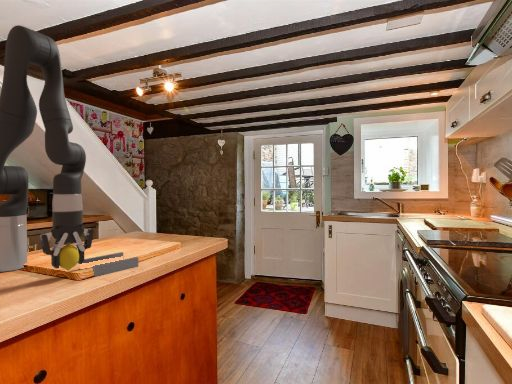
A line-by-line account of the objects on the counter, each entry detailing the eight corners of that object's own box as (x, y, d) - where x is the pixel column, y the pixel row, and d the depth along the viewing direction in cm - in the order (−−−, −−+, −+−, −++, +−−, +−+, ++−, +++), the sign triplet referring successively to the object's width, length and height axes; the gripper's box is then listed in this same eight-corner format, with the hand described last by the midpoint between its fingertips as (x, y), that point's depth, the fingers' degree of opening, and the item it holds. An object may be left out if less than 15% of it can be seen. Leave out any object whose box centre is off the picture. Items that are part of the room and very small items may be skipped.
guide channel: (79, 269, 94) (79, 260, 94) (121, 260, 105) (121, 252, 105) (94, 276, 87) (94, 266, 87) (138, 266, 98) (138, 257, 98)
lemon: (68, 267, 90) (68, 241, 90) (83, 268, 89) (83, 242, 89) (52, 272, 85) (52, 245, 84) (68, 274, 84) (68, 246, 83)
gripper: (88, 206, 94) (88, 258, 95) (34, 210, 83) (35, 268, 84) (98, 208, 90) (99, 262, 90) (42, 212, 78) (43, 274, 79)
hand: (68, 265), depth 87 cm, fingers closed on lemon, 5 cm apart
